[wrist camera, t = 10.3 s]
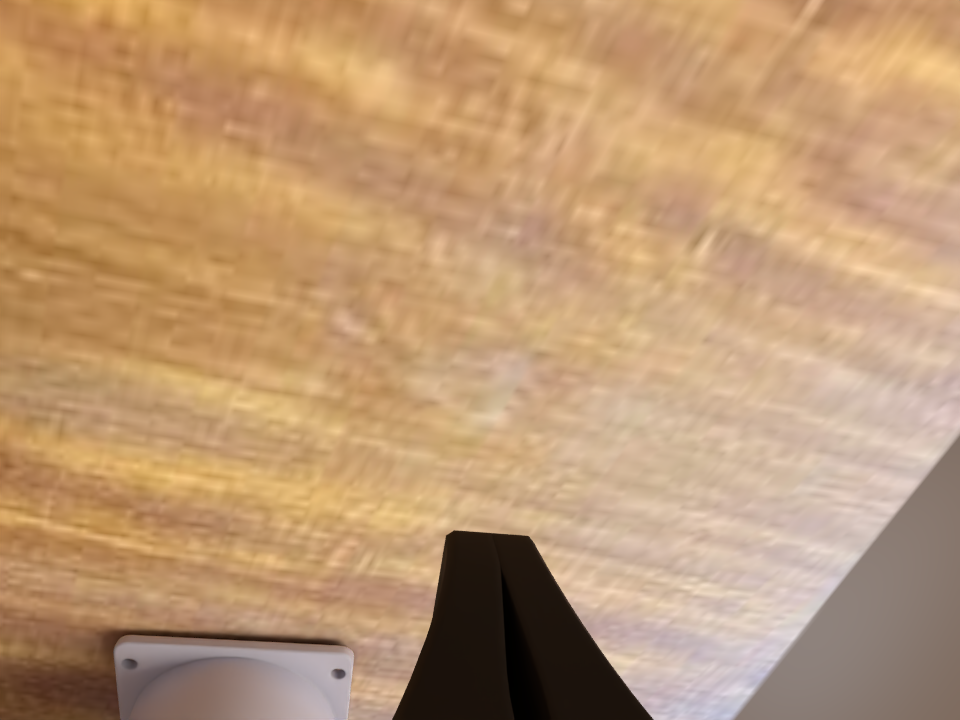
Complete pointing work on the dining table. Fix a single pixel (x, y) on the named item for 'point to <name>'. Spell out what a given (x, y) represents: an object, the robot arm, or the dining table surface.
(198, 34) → the dining table surface
